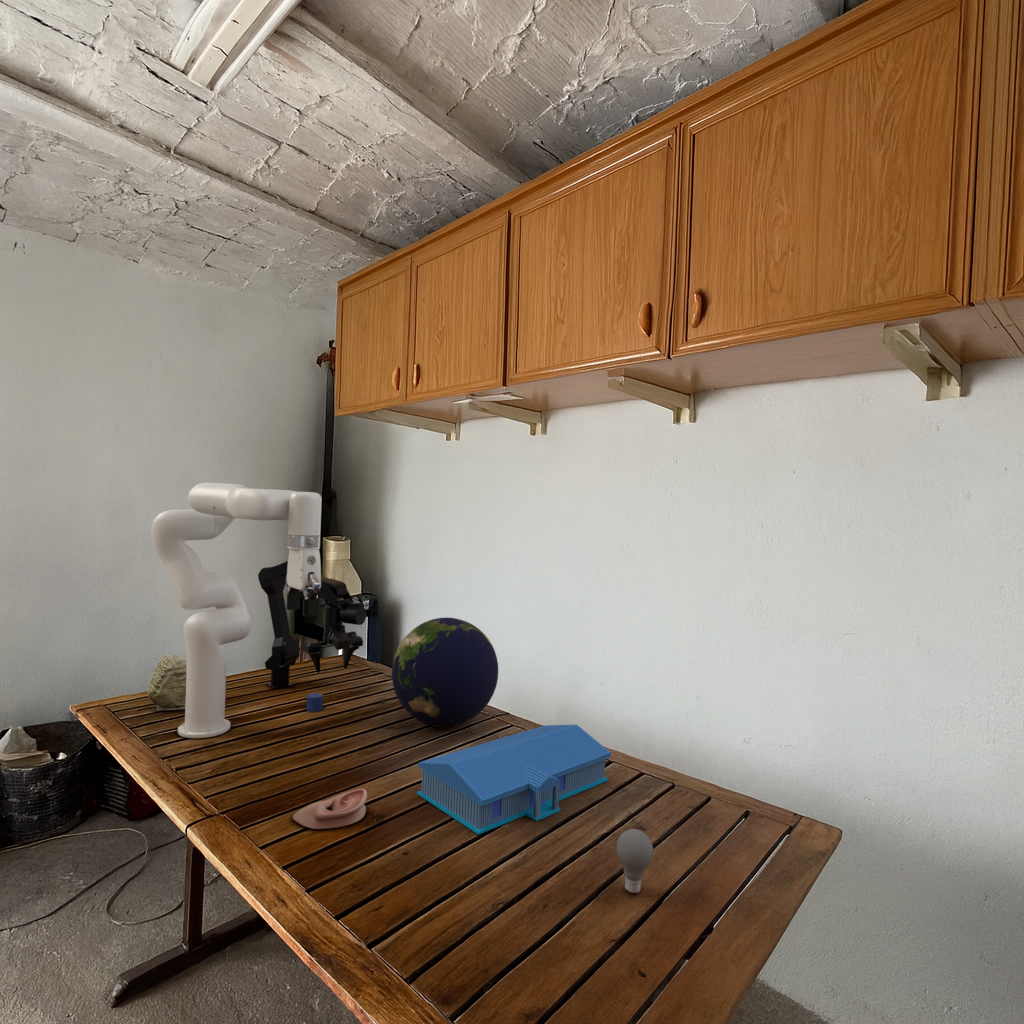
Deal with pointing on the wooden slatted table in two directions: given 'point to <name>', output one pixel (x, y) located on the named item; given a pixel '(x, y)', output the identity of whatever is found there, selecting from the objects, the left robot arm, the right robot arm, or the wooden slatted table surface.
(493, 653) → the globe
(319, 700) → the canister
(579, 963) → the wooden slatted table surface
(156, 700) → the fossil
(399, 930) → the wooden slatted table surface
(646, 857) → the light bulb
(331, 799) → the anatomical model
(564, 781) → the model building
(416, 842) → the wooden slatted table surface
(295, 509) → the left robot arm
